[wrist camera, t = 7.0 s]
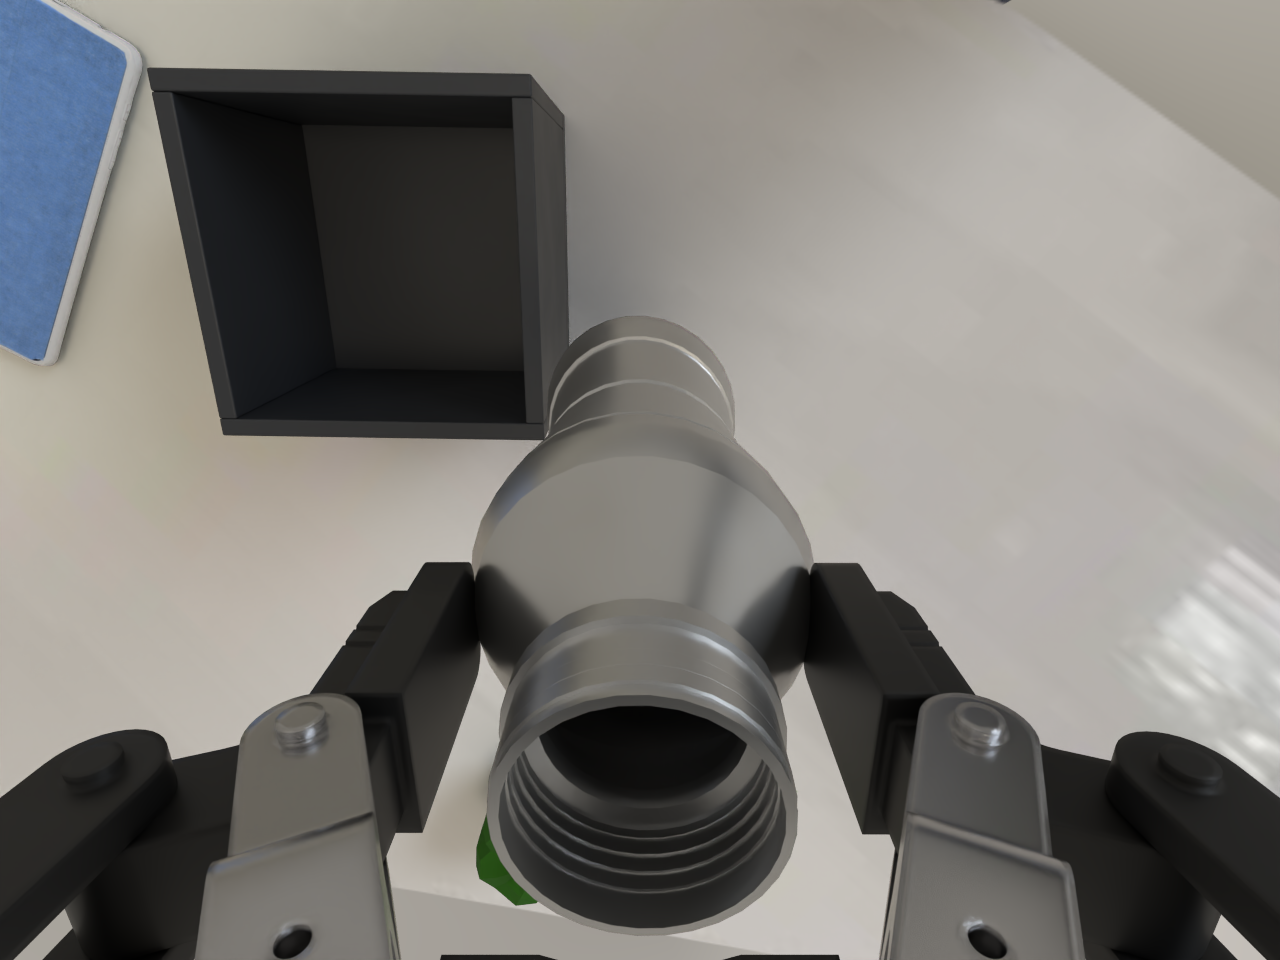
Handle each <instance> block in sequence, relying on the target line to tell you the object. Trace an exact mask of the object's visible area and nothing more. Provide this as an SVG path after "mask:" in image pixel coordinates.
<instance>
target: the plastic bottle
mask: <svg viewBox="0 0 1280 960" xmlns="http://www.w3.org/2000/svg"><path fill="white" fill-rule="evenodd" d="M547 422H548V431H549V435H548V436H547V437H546V438H545V439H544V440H543V441H542V442H541V443H540V444H539V445H538V446H537V447H536V448H535V449H534V450H533V451H532V452H530V453H529V454H528V455H527V456H526V457H525V458H524V459H523V460H522V462H521V463H520V464H519V465H518V466H517V467H516V468H515V469H514V471H513V472H512V473H511V474H510V475H509V476H508V477H507V479H506V481H505V482H504V484H503V485H502V486H501V488H500V489H499V490H498V492H497V493H496V495H495V497H494V499H493V500H492V502H491V504H490V506H489V508H488V509H487V511H486V513H485V515H484V517H483V518H482V520H481V523H480V527H479V530H478V534H477V537H476V541H475V544H474V547H473V551H472V568H473V572H474V579H475V614H476V622H477V629H478V637H479V640H480V642H481V645H482V647H483V650H484V652H485V655H486V658H487V660H488V663H489V665H490V667H491V668H492V670H493V671H494V673H495V674H496V676H497V677H498V679H499V680H500V682H501V684H502V685H503V687H504V688H505V690H506V694H505V697H504V700H503V704H502V707H501V712H500V725H499V737H500V742H499V746H498V749H497V752H496V756H495V760H494V763H493V766H492V770H491V773H490V776H489V785H488V798H487V803H488V804H487V821H488V826H489V832H490V837H491V841H492V843H493V845H494V848H495V850H496V852H497V854H498V857H499V859H500V861H501V863H502V864H503V865H504V867H505V868H506V869H507V871H508V872H509V874H510V875H511V876H512V878H513V879H514V880H515V882H516V883H517V884H518V885H520V886H521V887H522V888H523V889H524V890H525V891H526V892H527V893H528V894H529V895H530V896H531V897H533V898H534V899H535V900H536V901H538V902H539V903H541V904H543V905H544V906H546V907H547V908H549V909H550V910H552V911H553V912H555V913H557V914H559V915H561V916H563V917H565V918H568V919H570V920H572V921H575V922H577V923H579V924H581V925H585V926H589V927H592V928H596V929H599V930H603V931H607V932H612V933H620V934H627V935H635V936H650V935H670V934H676V933H683V932H689V931H694V930H697V929H700V928H703V927H706V926H710V925H713V924H716V923H719V922H721V921H723V920H725V919H727V918H729V917H731V916H733V915H735V914H737V913H739V912H741V911H742V910H744V909H745V908H746V907H748V906H749V905H750V904H752V903H753V902H754V901H756V900H757V899H758V898H760V897H761V896H762V895H763V894H764V893H765V892H766V891H767V890H768V889H769V888H770V887H771V885H772V884H773V883H774V882H775V881H776V880H777V879H778V878H779V876H780V874H781V873H782V871H783V869H784V867H785V866H786V864H787V862H788V860H789V859H790V857H791V853H792V850H793V846H794V843H795V839H796V836H797V818H798V810H797V793H796V788H795V784H794V779H793V775H792V771H791V767H790V764H789V760H788V757H787V752H786V745H787V726H786V722H785V717H784V713H783V708H782V704H781V699H782V697H783V696H784V695H785V694H786V692H787V691H788V690H789V689H790V687H791V686H792V685H793V683H794V681H795V679H796V677H797V675H798V673H799V671H800V669H801V667H802V665H803V663H804V658H805V653H806V647H807V642H808V635H809V621H810V571H811V567H812V565H813V564H814V560H813V555H812V550H811V544H810V542H809V539H808V537H807V535H806V532H805V530H804V527H803V525H802V523H801V520H800V518H799V516H798V514H797V512H796V511H795V509H794V508H793V507H792V505H791V504H790V502H789V501H788V499H787V498H786V497H785V495H784V494H783V492H782V491H781V489H780V488H779V487H778V485H777V484H776V482H775V481H774V480H773V478H772V477H771V475H770V474H769V472H768V471H767V470H766V469H765V468H764V467H763V466H762V465H760V464H759V463H758V462H757V461H756V460H755V459H754V458H753V457H752V456H751V455H750V454H749V453H748V452H747V451H746V450H745V449H743V448H742V447H741V446H740V445H739V444H738V443H737V441H736V440H735V438H734V433H735V406H734V398H733V393H732V388H731V384H730V381H729V379H728V377H727V374H726V372H725V370H724V367H723V366H722V364H721V363H720V361H719V360H718V358H717V357H716V355H715V354H714V352H713V351H712V350H711V349H710V348H709V347H708V346H707V345H706V344H705V343H704V342H703V341H702V340H701V339H700V338H699V337H697V336H696V335H694V334H693V333H691V332H690V331H688V330H687V329H685V328H684V327H682V326H679V325H677V324H674V323H672V322H669V321H667V320H664V319H659V318H654V317H648V316H625V317H621V318H617V319H612V320H608V321H605V322H603V323H601V324H599V325H597V326H595V327H593V328H590V329H589V330H588V331H586V332H585V333H584V334H582V335H581V336H580V337H578V338H577V339H576V340H575V341H574V342H573V343H572V344H571V345H570V346H569V348H568V349H567V350H566V351H565V352H564V353H563V355H562V356H561V358H560V360H559V362H558V364H557V366H556V367H555V369H554V372H553V375H552V378H551V381H550V385H549V388H548V399H547Z"/></svg>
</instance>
